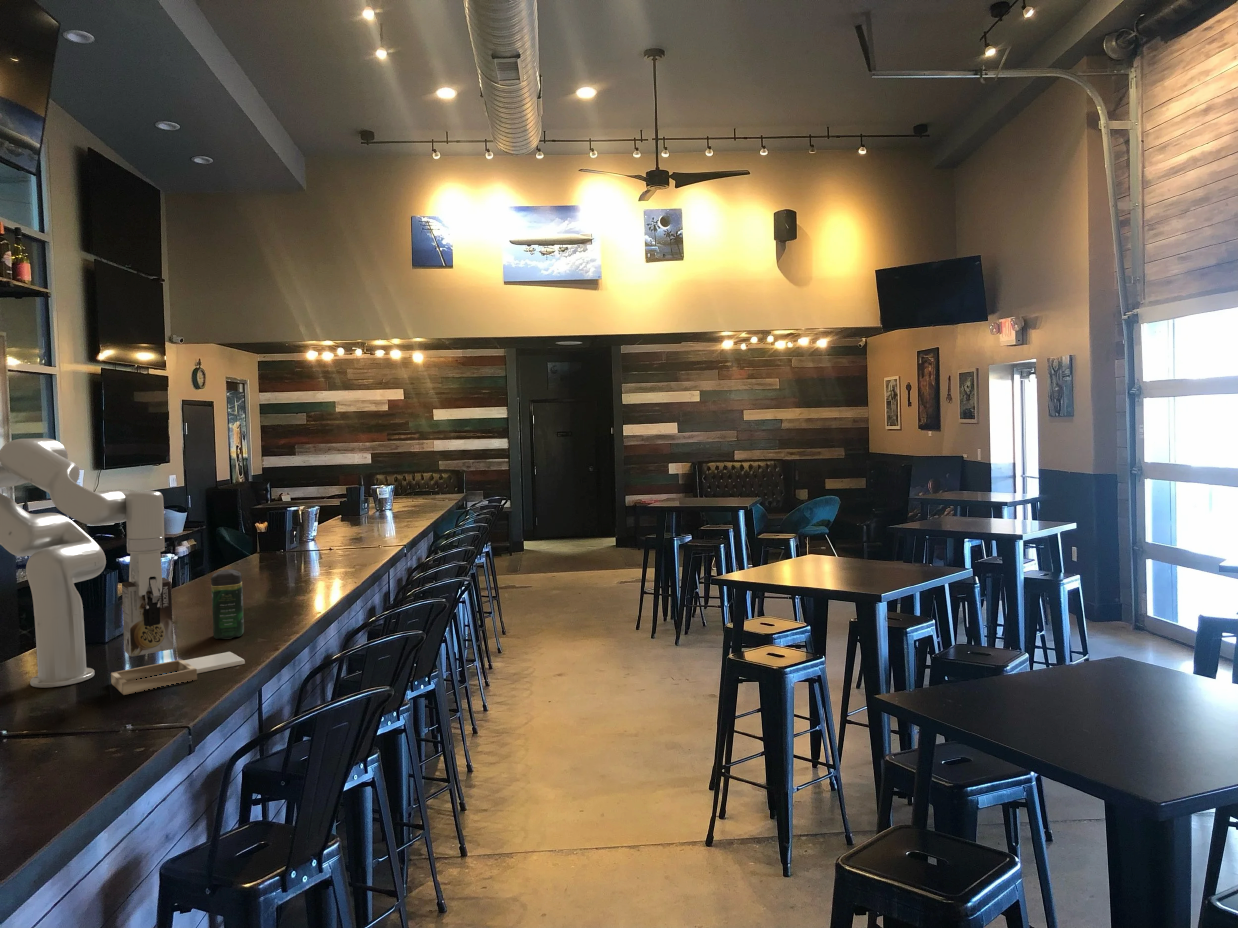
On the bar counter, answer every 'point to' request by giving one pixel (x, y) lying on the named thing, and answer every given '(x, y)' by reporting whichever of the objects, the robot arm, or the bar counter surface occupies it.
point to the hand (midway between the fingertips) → (147, 621)
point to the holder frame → (125, 687)
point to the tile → (215, 662)
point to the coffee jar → (227, 604)
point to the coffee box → (135, 632)
